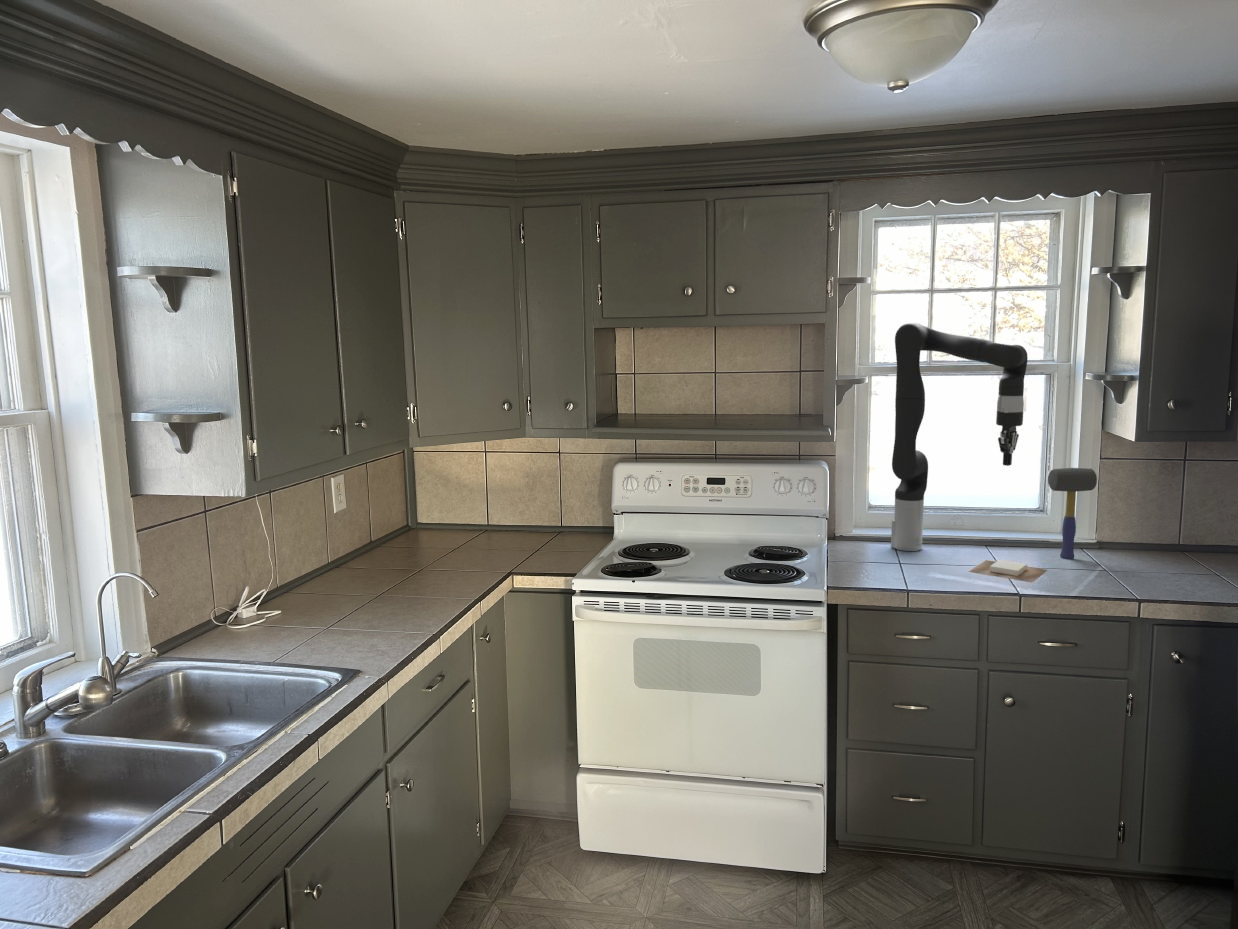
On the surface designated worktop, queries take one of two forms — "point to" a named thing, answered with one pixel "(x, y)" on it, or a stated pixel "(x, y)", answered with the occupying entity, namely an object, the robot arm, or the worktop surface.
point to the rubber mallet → (1071, 500)
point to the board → (1027, 575)
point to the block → (1008, 567)
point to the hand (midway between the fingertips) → (1007, 465)
